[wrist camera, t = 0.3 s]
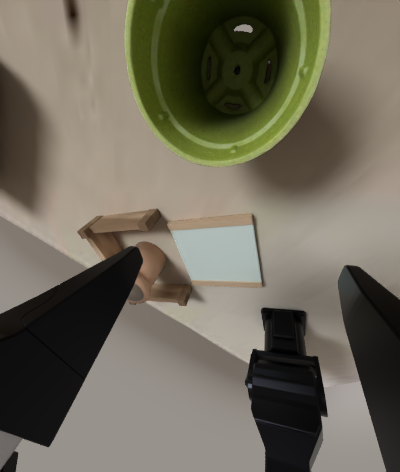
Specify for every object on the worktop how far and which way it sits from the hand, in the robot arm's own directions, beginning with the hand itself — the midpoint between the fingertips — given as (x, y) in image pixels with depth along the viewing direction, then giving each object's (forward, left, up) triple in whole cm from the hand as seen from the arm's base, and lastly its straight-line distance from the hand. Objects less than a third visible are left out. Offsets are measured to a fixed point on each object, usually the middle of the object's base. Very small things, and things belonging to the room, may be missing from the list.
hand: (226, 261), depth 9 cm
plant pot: (+7, 0, -15) cm, 16 cm away
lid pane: (-12, +6, -14) cm, 20 cm away
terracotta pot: (-12, +18, -14) cm, 26 cm away
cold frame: (-12, +18, -14) cm, 26 cm away
